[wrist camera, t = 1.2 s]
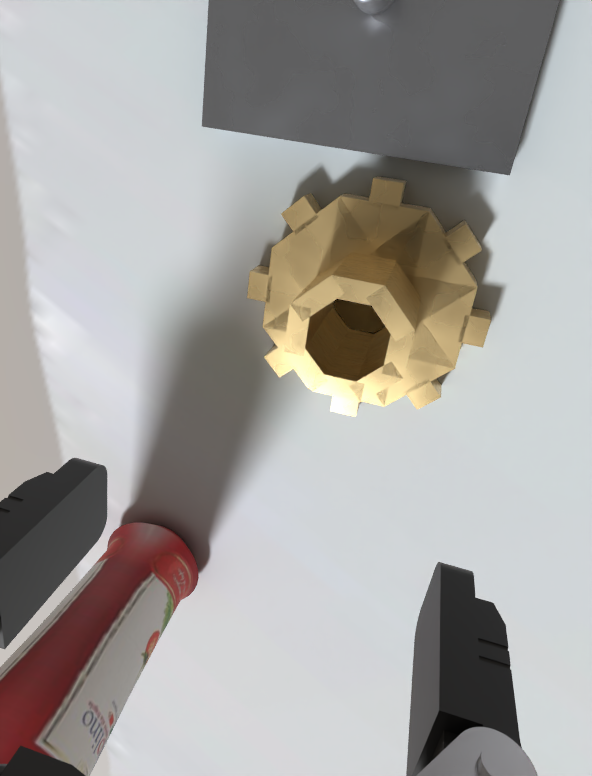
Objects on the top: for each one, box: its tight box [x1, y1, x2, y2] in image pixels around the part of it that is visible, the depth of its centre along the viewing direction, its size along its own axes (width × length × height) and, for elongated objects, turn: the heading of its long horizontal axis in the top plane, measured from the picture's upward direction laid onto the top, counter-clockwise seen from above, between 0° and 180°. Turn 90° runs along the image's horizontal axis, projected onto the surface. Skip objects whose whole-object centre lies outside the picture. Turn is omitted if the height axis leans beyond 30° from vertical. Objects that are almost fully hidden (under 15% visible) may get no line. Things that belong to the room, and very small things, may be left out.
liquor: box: [0, 522, 198, 776], centre depth 28 cm, size 7×7×28 cm
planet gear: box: [247, 176, 491, 417], centre depth 26 cm, size 12×12×6 cm
